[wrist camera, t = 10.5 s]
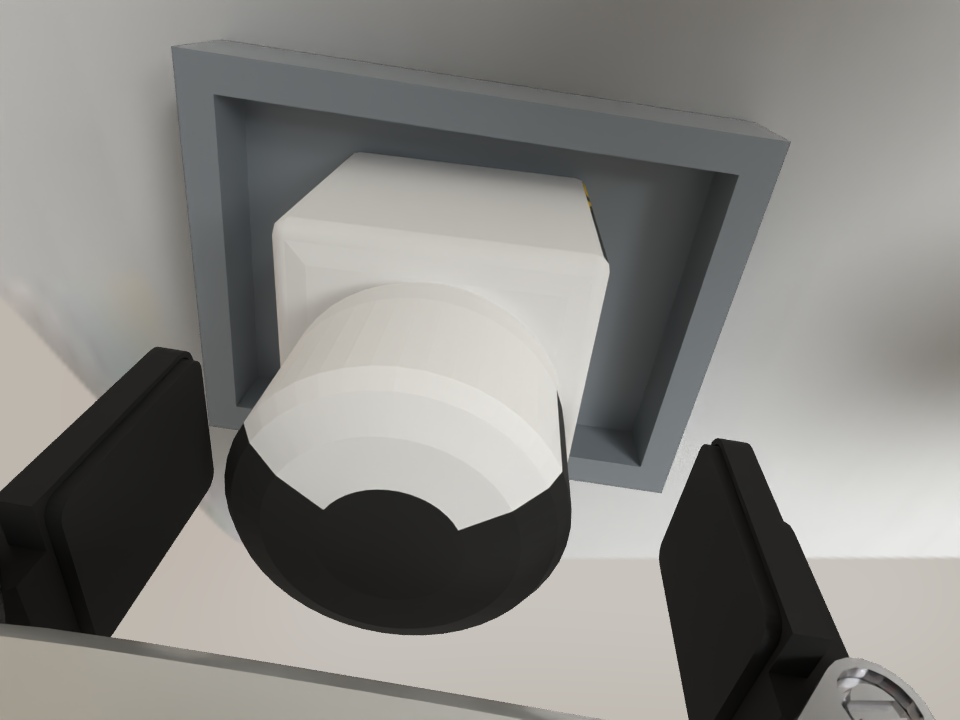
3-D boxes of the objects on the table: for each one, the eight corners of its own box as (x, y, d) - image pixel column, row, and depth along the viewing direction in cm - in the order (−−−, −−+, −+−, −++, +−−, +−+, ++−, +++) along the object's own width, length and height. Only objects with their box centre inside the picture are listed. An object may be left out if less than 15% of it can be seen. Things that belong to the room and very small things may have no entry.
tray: (754, 122, 19) (790, 141, 16) (647, 441, 25) (661, 493, 22) (221, 40, 19) (171, 46, 16) (243, 380, 25) (209, 425, 22)
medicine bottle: (549, 377, 22) (567, 703, 12) (351, 353, 23) (198, 657, 12) (587, 176, 19) (658, 393, 9) (351, 147, 19) (135, 327, 9)
